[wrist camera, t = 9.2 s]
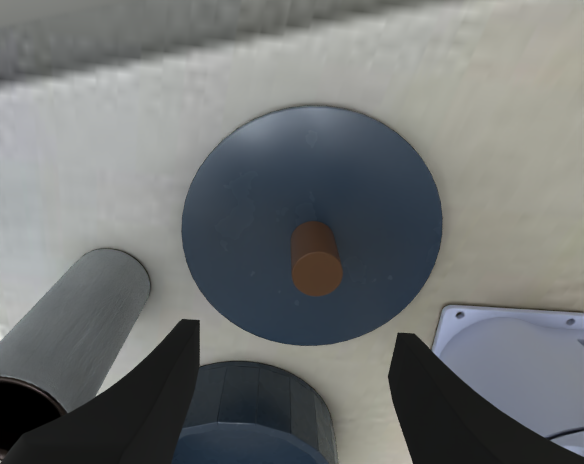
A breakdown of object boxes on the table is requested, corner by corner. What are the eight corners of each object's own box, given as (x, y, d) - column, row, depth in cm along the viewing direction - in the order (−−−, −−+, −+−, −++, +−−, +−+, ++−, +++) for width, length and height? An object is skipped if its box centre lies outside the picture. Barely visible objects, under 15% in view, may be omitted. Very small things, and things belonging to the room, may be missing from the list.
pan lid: (462, 115, 22) (509, 133, 17) (409, 341, 27) (434, 398, 23) (183, 92, 21) (156, 104, 17) (187, 328, 27) (167, 385, 22)
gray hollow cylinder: (129, 325, 27) (44, 480, 17) (61, 289, 25) (-71, 435, 16) (164, 273, 25) (92, 412, 16) (93, 233, 24) (-32, 356, 15)
